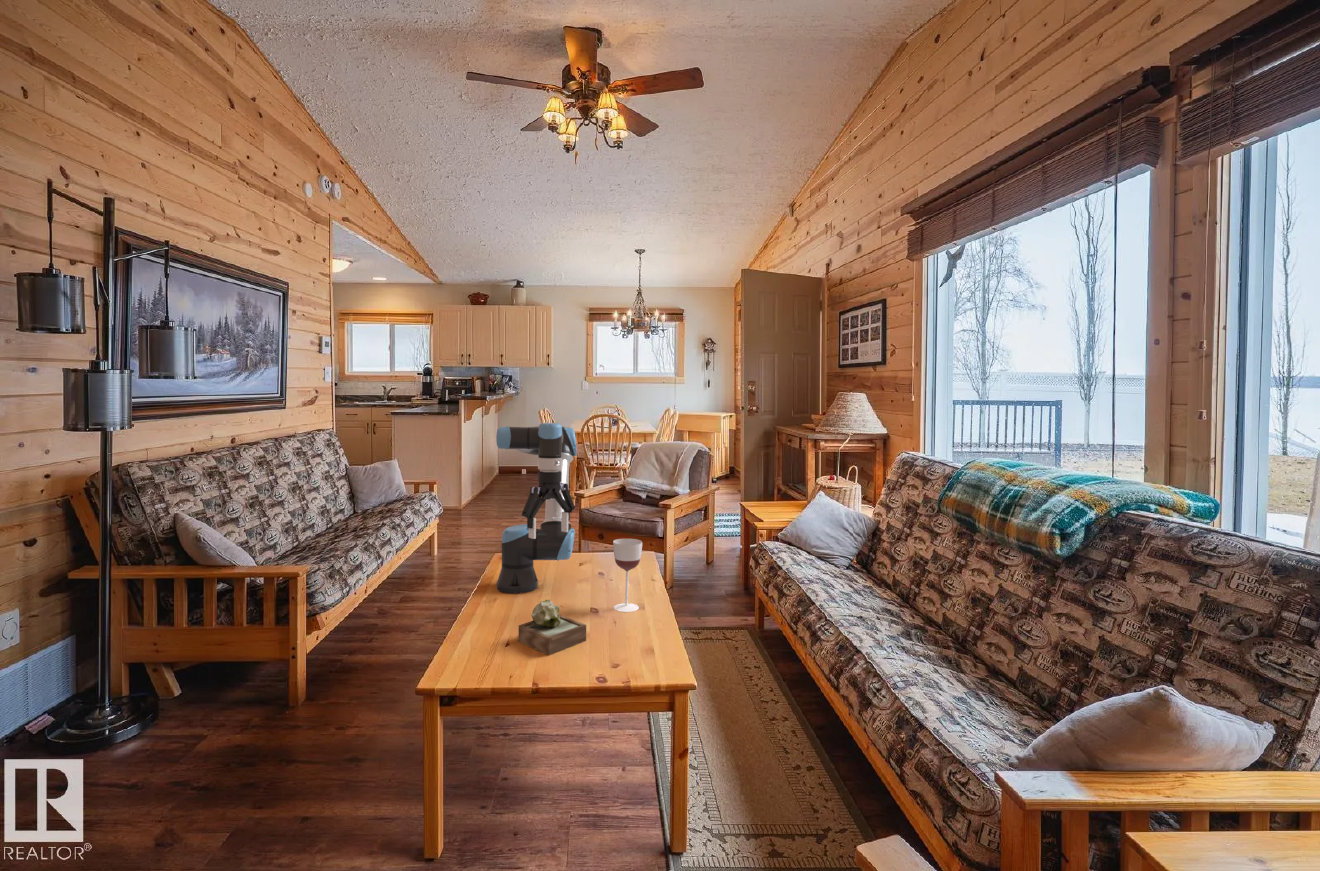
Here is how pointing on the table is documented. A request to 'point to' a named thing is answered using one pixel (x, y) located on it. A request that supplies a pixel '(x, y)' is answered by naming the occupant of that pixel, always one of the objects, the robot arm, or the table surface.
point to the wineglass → (627, 565)
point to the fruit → (546, 614)
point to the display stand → (552, 635)
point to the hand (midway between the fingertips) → (548, 534)
